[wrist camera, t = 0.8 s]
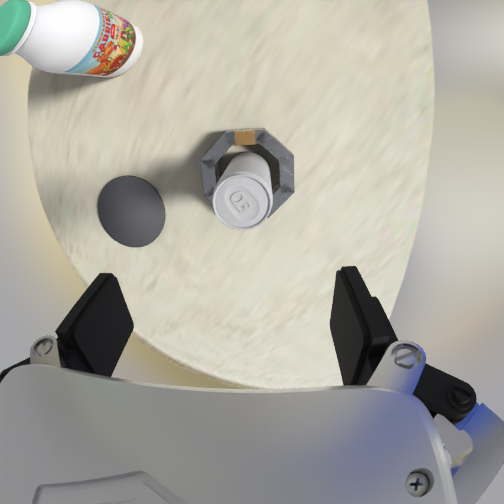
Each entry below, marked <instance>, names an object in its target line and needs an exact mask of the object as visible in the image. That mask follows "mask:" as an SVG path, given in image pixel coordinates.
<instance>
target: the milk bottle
mask: <svg viewBox="0 0 504 504" xmlns="http://www.w3.org/2000/svg"><path fill="white" fill-rule="evenodd" d="M142 49H143V35H142V33H141V31H140V29H139V28H138V27H137V26H135V25H134V24H132V23H130V22H129V21H127V20H125V19H123V18H121V17H119V16H117V15H115V14H113V13H111V12H109V11H107V10H105V9H103V8H100V7H98V6H96V5H93V4H90V3H88V2H84V1H79V0H64V1H59V2H55V3H52V4H48V5H41V6H35V4H34V3H33V2H27V1H25V0H9V1H7V2H6V3H5V4H3V5H2V6H1V7H0V56H3V55H4V56H9V55H11V54H13V53H15V54H17V55H19V56H21V57H22V58H24V59H25V60H26V61H27V62H28V63H29V64H30V65H32V66H33V67H35V68H37V69H39V70H41V71H45V72H49V73H59V74H73V75H85V76H97V77H116V76H119V75H121V74H123V73H125V72H126V71H128V70H129V69H130V68H131V67H132V66H133V65H134V64H135V63H136V62H137V60H138V59H139V57H140V55H141V52H142Z"/></svg>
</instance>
